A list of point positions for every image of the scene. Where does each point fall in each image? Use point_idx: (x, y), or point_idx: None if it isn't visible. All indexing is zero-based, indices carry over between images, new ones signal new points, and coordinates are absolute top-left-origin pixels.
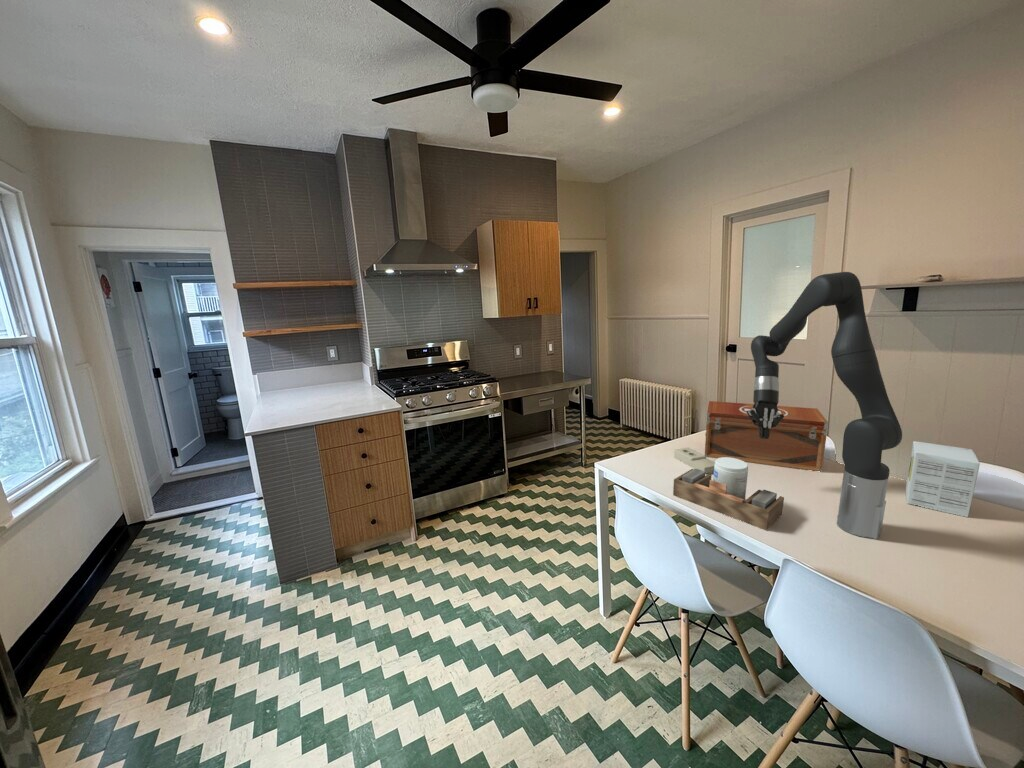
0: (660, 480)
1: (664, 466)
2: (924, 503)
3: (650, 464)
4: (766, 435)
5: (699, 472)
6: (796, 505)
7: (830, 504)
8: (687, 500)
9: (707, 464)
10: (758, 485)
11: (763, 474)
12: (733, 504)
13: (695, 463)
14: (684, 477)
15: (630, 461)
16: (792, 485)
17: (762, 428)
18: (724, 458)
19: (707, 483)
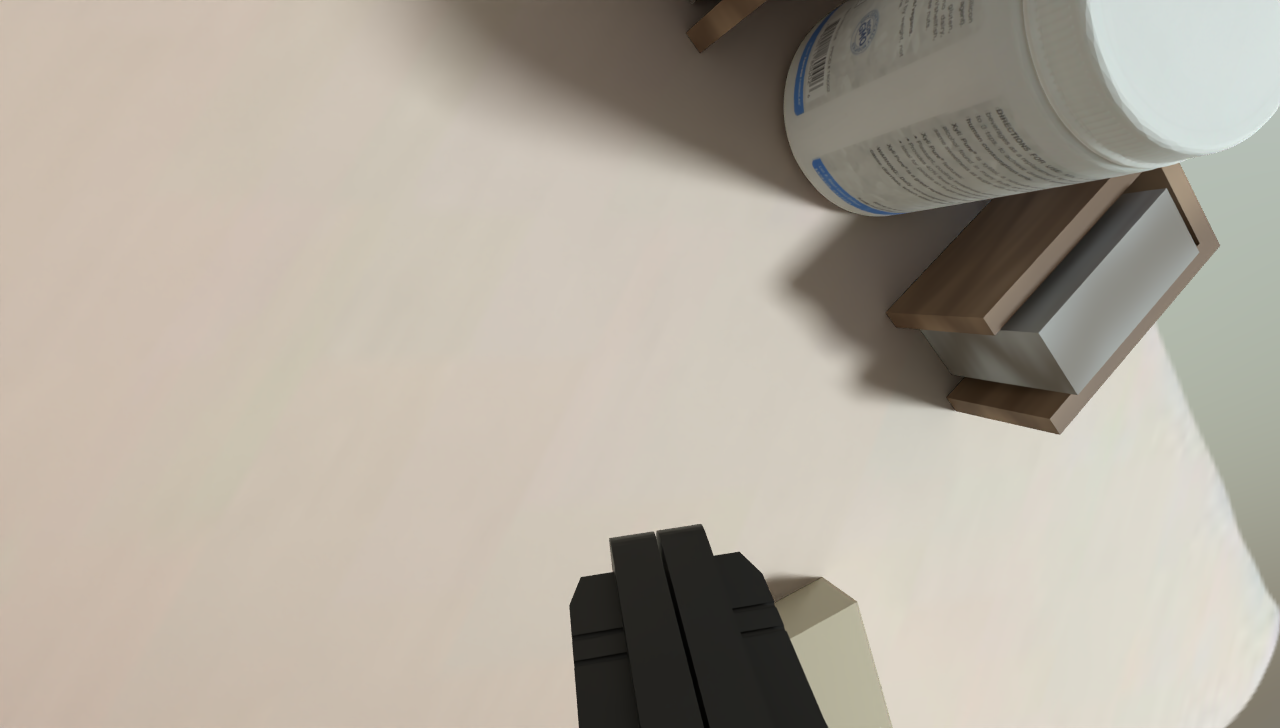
0: (1092, 455)
1: (1007, 677)
2: None
3: (1069, 696)
4: (669, 573)
5: (1082, 313)
6: (390, 30)
7: (31, 4)
8: None
9: (811, 671)
10: (516, 402)
11: (354, 633)
12: None
13: (878, 686)
14: (1186, 238)
15: (1151, 724)
16: (192, 411)
17: (817, 722)
18: (1216, 111)
19: (977, 274)
